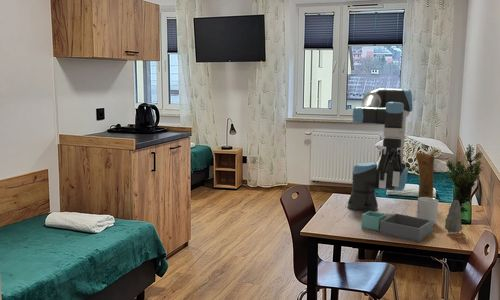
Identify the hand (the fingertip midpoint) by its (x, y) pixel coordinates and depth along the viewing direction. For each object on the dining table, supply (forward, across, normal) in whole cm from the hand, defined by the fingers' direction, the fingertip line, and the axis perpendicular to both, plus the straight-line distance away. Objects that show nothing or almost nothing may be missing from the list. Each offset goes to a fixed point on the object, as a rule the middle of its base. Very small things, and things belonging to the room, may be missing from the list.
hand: (388, 187), depth 206 cm
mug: (+17, +27, -7) cm, 33 cm away
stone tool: (+18, +19, -22) cm, 34 cm away
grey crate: (+19, +3, -8) cm, 21 cm away
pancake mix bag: (+14, +58, +5) cm, 59 cm away
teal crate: (+19, +1, +6) cm, 20 cm away
